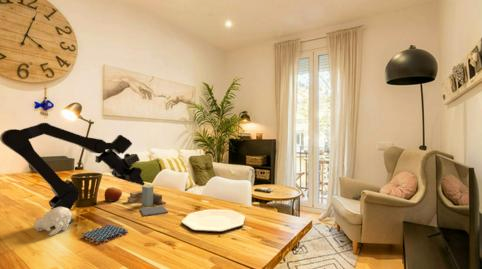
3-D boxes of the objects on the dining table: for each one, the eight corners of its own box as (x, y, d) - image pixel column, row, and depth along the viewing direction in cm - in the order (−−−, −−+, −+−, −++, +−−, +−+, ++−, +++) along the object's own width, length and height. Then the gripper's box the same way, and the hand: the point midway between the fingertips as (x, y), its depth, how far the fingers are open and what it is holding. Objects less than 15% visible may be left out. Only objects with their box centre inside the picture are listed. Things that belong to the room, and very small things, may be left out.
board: (147, 206, 110) (147, 187, 111) (141, 204, 114) (142, 186, 114) (153, 205, 113) (153, 186, 113) (147, 203, 116) (148, 185, 116)
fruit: (96, 200, 116) (104, 184, 120) (108, 204, 122) (114, 189, 126) (109, 201, 114) (116, 185, 118) (120, 206, 120) (126, 191, 124)
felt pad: (143, 216, 97) (143, 215, 97) (140, 210, 105) (140, 208, 105) (167, 212, 102) (168, 211, 102) (163, 207, 110) (163, 205, 110)
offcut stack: (131, 203, 116) (131, 194, 116) (127, 201, 119) (127, 193, 119) (145, 200, 121) (145, 192, 121) (140, 199, 124) (141, 190, 124)
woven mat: (99, 247, 70) (99, 240, 70) (79, 239, 75) (79, 233, 75) (130, 234, 80) (130, 228, 80) (110, 228, 85) (110, 223, 85)
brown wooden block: (158, 205, 113) (159, 196, 113) (146, 200, 121) (146, 192, 121) (165, 203, 116) (165, 194, 116) (153, 199, 124) (153, 191, 124)
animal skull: (56, 209, 76) (26, 211, 78) (57, 236, 76) (27, 236, 78) (73, 204, 82) (45, 205, 84) (74, 229, 82) (46, 229, 84)
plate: (246, 214, 103) (246, 210, 103) (241, 236, 79) (241, 231, 79) (194, 211, 105) (194, 208, 105) (173, 232, 81) (173, 228, 81)
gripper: (138, 148, 100) (160, 171, 108) (118, 147, 112) (140, 168, 120) (118, 169, 94) (144, 191, 102) (100, 165, 106) (125, 186, 114)
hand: (138, 183), depth 110 cm, fingers open, 9 cm apart
